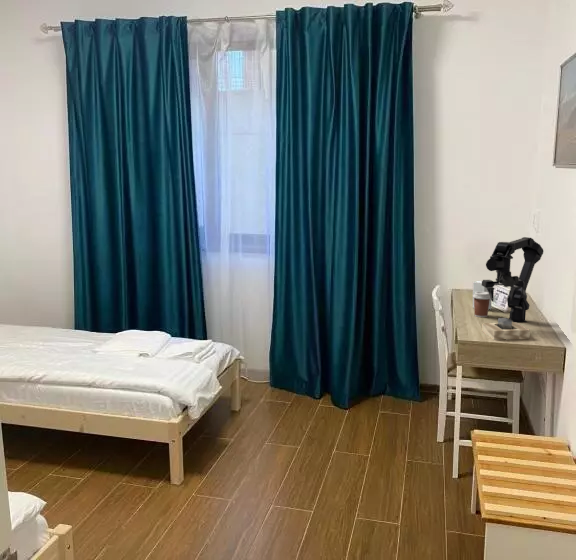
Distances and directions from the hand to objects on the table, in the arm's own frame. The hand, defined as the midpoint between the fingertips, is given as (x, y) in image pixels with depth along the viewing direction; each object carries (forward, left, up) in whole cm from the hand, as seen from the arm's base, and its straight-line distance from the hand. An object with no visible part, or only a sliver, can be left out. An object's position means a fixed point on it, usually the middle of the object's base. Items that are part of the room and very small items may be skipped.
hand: (501, 301), depth 292 cm
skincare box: (-4, -35, -12) cm, 37 cm away
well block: (+5, +17, -12) cm, 21 cm away
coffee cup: (+2, -20, -12) cm, 24 cm away
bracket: (+5, +16, -12) cm, 21 cm away
